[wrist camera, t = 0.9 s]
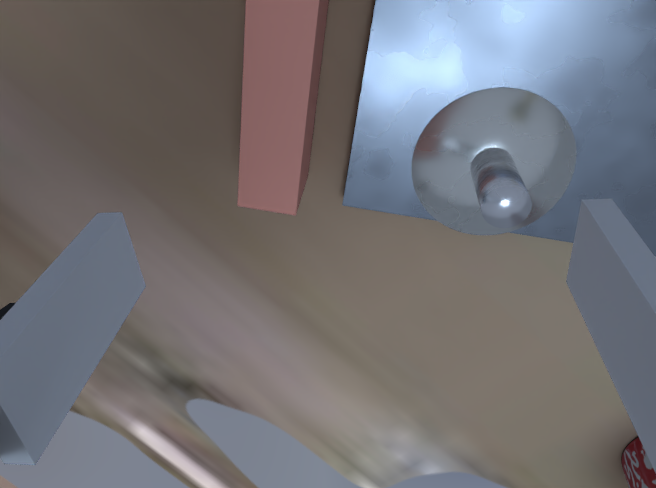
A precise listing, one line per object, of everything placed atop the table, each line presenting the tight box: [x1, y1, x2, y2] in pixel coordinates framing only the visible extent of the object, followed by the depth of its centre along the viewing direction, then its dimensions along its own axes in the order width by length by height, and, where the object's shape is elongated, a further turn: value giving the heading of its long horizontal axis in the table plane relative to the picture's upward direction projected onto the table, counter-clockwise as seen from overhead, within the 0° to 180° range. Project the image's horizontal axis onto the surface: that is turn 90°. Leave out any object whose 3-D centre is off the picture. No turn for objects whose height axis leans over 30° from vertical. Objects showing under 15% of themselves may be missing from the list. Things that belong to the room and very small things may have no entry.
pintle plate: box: [343, 0, 656, 256], centre depth 27 cm, size 28×22×1 cm
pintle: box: [470, 148, 532, 228], centre depth 29 cm, size 2×2×5 cm
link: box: [238, 0, 329, 215], centre depth 26 cm, size 19×6×5 cm, turn 173°
